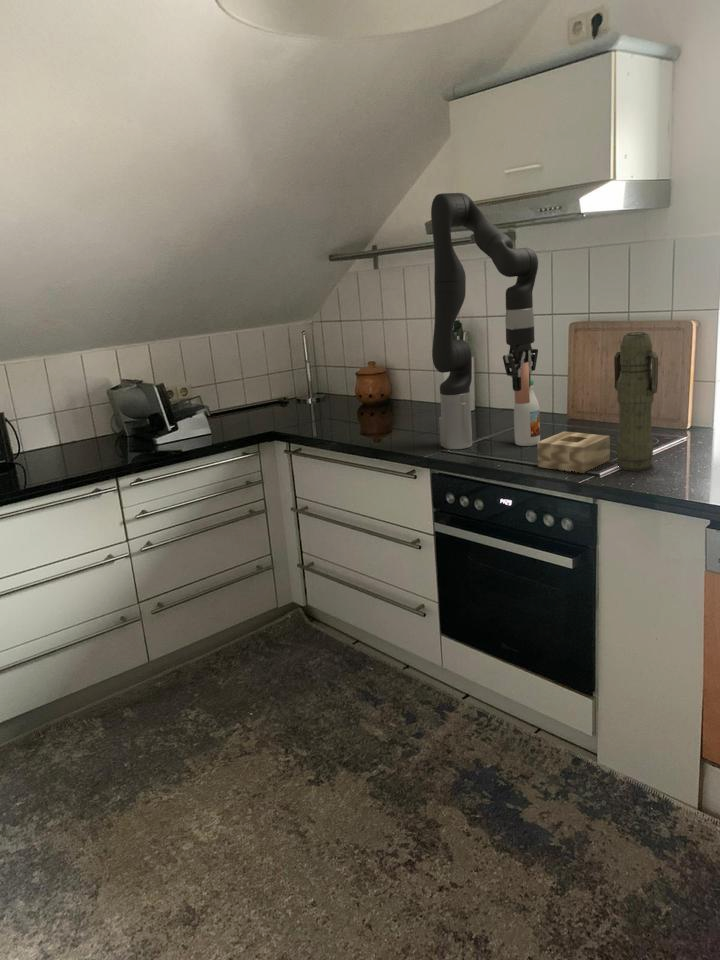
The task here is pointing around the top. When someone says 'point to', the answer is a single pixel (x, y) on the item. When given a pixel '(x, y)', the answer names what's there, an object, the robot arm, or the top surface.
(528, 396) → the dowel pin
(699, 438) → the top surface
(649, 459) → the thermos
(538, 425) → the milk bottle
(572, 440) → the bore block
